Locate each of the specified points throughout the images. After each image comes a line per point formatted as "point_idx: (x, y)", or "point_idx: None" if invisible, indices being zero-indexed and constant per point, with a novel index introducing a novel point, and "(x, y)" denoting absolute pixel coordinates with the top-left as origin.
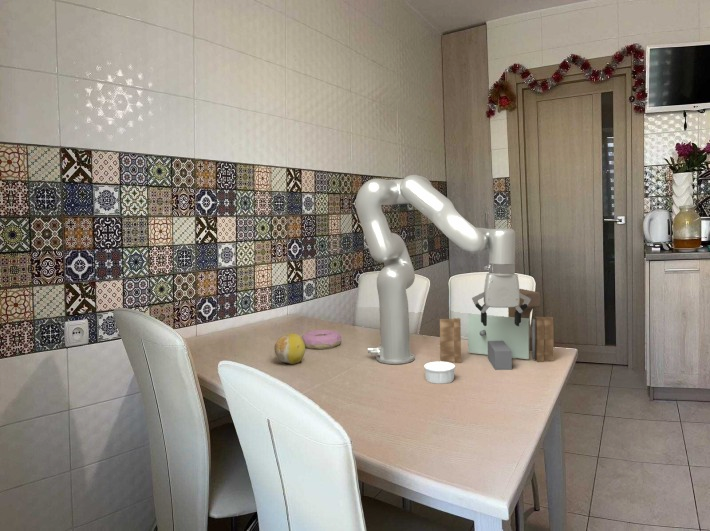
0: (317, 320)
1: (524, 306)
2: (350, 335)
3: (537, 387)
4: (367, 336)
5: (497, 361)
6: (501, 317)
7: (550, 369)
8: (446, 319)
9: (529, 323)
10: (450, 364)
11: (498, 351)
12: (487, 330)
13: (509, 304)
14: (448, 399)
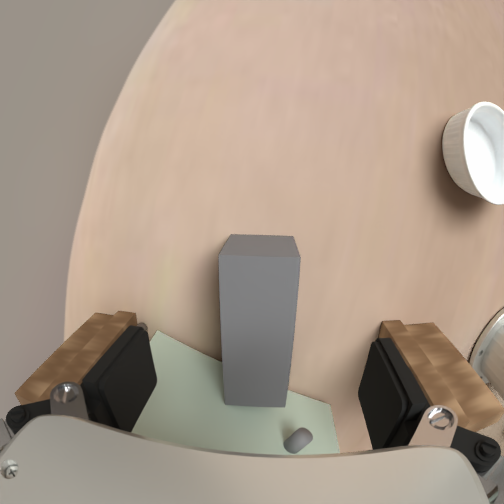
0: None
1: (26, 417)
2: None
3: (193, 46)
4: None
5: (285, 244)
6: None
7: (109, 232)
8: (485, 422)
9: None
10: (470, 170)
11: (282, 256)
12: (278, 449)
13: (121, 461)
14: (443, 11)
